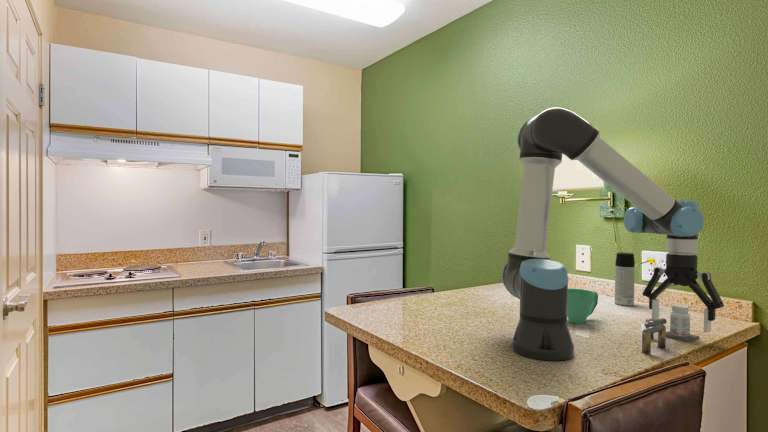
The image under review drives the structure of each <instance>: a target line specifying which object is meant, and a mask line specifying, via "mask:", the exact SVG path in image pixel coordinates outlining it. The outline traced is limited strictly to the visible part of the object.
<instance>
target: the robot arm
mask: <svg viewBox="0 0 768 432" xmlns="http://www.w3.org/2000/svg"><path fill="white" fill-rule="evenodd" d="M516 139H517V142H516V143H517V146H518V149H519V158H518V159H519V162H521V165H522V166H523V169H522V170H523V171H522V181H521V187H520V188H521V190H520V197H519V206H518V215H517V222H516V223H517V224H516V233H515V242H514V246H513V247H512V248H511V249H510V250H508V255H507V262H506V263H505V264H504V266H503V268H502V271H501V279H502V280H501V281H502V284H503V285H504V287H505V288H506V291H508V293H509V294H510V295H511V296H513V297H515V298H517V299H518V300H519V320H518V323H517V325H516V328H515V329H516V330H515V332H514V335H513V338H512V344H511V345H512V350H513V351H514V352H515V353H516V354H519V355H521V356H523V357H526V358H530V359H535V360H540V361H548V362H549V361H552V362H553V361H555V362H557V361H566V360H569V359H572V358H573V357H574V356H575V345H574V342H573V340H572V336H571V332H570V329H569V326H568V317H567V297H568V289H569V288H568V286H569V277H568V274H569V273H568V269H567V266H566V265H564V264H563V263H561V262H560V261H559V262H558V261H557V260H556V261H555V260H551V256H550V255H549V253H548V252H547V250H546V248H547V247H546V246H547V239H548V230H549V221H550V211H551V204H552V199H553V198H552V196H553V188H554V180H555V179H554V178H555V171H556V168H557V167H558V166H559V165H560V164H561V163H562V159H563V155H564V156H565V157H566V158H568V159H569V160H570V161H575V160H576V161H578V162H579V163H581V164H582V165H583V166H585V167H586V168H587V169H588V170H589V171H590V172H591V173H593V174H594V175H595V176H596V177H597V178H599V179H600V180H602V182H604V183H605V184H606V185H608V186H609V187H611V189H613V190H614V191H615V192H616V193H618V194H619V196H621V197H623V198H624V199H625V200H626V201H627V202H629V204H631V205H633V207H629V208H628V209H626V211H625V212H624V216H623V225H624V227H625V229H626V231H628V232H629V233H637V234H655V235H666V243H665V244H666V245H665V247H666V248H665V250H666V252H668V253H666V254H665V257H666V258H665V268H663V267H662V266H659V267H655V268H654V269H653V275H652V276H651V277H650V279H649V281H648V283H647V285H646V287H645V288H644V290H643V292H642V296H644V297H647V298H648V303H649V304H648V309H649V310H651V319H654V320H658V319H660V299H659V298H658V297H659V296H660V295H661V294H662V293H663V292H664V291H665V290H667V289H668V287H670V286H671V285H674V286H681V287H689V289H690V290H692V291H693V293H695V294H696V296H697V297H698V298H699V300H700V301H702V303H703V304H704V305H705V307H706V308H704V309H703V333H706V334H707V333H710V332H712V322H714V321H715V320H716V311H717V309H722V308H724V307H725V304H724V302H723V300H722V298H721V296H720V295H719V293H718V291H717V289H716V287H715V286H714V283H713V281H712V275H711V273H710V272H708V271H706V272H699V271H698V256H697V253H698V247H699V246H698V244H699V243H698V241H699V239H698V236H699V233H700V232H701V231H702V230H703V228H704V225H705V217H704V214H703V213H702V212H701V210H699V204H698V202H697V201H696V200H677V199H675V198H674V197H672V195H670V194H669V193H668V192H666V191H665V190H664V189H663V188H662V187H661V186H659V185H658V184H657V183H656V182H654V181H653V180H652V179H651V178H650V177H648V176H647V175H646V174H645V173H643V172H642V170H640V169H639V168H637V166H635V165H633V163H631V162H630V161H629V160H628V159H626V157H624V156H623V155H622V154H620V152H618V151H617V150H616V149H614V148H613V147H612V146H611V145H609V144H608V143H607V142H606V141H605V140H603V139H602V138H601V133H600V131H599V130H598V129H597V128H596V127H594V126H593V125H592V123H590V122H588V121H587V120H585V119H584V118H583V117H581V115H579V114H577V113H575V112H574V111H571V110H569V109H566V108H563V107H550V108H547V109H545V110H543V111H542V112H540V113H539V114H537V115H535V116H532V118H529V119H528V120H526V121H525V123H524V124H523V125H522V126H521V127H520V129H519V130H518V133H517V138H516ZM663 275H665V276H666V279H664V281H663V282H662V283H661V284H660V285H658V287H657V288H655V287H656V285H657V284H658V282H659V281H660V278H661V277H662V276H663ZM698 278H699V280H701V281H702V284H703V285H704V288H705V290H706V292H707V293H708V294H707V293H706V292H705V291H704V289H703V288H702V287H701V285H700V284H699V282H698V281H697V279H698ZM654 289H655V290H654Z"/></svg>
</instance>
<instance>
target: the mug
mask: <svg viewBox="0 0 768 432" xmlns="http://www.w3.org/2000/svg"><path fill="white" fill-rule="evenodd" d="M598 300H599V295H598V293H597V291H596V290H587V289H582V288H581V289H580V288H568V297H567V321H568V322H570V323H572V324H585V323H586V321H587V318H589V316H590V315H592V314H593V313H594V311H595V309H596V307H597V305H598Z"/></svg>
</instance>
